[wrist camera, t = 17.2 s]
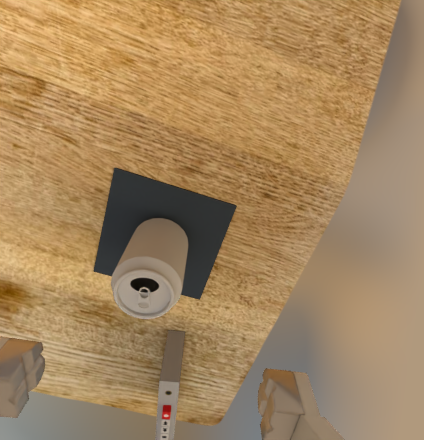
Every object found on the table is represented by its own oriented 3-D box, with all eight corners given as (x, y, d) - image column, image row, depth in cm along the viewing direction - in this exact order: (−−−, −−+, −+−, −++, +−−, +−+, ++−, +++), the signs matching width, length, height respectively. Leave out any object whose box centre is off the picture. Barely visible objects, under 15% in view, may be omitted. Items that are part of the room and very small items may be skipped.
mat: (236, 205, 39) (236, 206, 39) (199, 298, 46) (199, 299, 46) (114, 167, 37) (114, 167, 37) (94, 270, 44) (93, 271, 43)
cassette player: (168, 330, 48) (158, 387, 39) (185, 331, 48) (178, 389, 39) (163, 395, 55) (153, 457, 46) (178, 396, 55) (171, 458, 46)
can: (190, 217, 40) (182, 269, 29) (187, 265, 43) (178, 328, 32) (133, 212, 40) (103, 262, 29) (134, 261, 43) (107, 322, 32)
